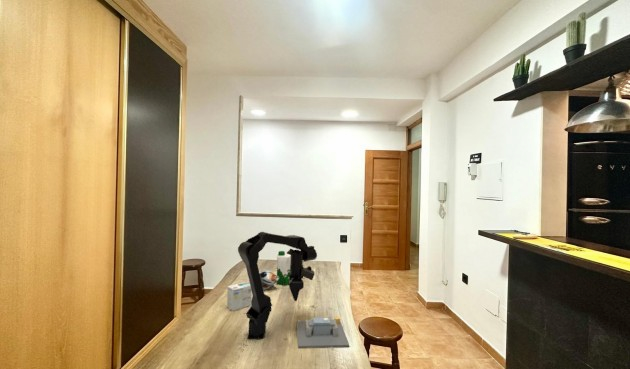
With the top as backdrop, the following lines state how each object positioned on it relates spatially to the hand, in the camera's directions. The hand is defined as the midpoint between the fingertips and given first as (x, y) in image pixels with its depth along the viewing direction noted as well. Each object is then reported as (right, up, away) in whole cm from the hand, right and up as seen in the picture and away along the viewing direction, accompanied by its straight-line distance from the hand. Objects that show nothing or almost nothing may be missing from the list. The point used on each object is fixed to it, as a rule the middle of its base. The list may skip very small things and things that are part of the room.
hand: (295, 296), depth 130 cm
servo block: (+12, -11, -11) cm, 19 cm away
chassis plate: (+12, -11, -11) cm, 20 cm away
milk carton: (-11, -11, +49) cm, 52 cm away
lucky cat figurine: (-21, -11, +41) cm, 47 cm away
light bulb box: (-30, -10, +13) cm, 34 cm away
